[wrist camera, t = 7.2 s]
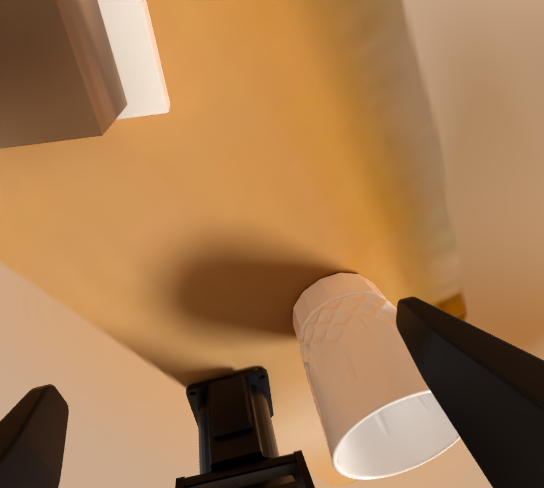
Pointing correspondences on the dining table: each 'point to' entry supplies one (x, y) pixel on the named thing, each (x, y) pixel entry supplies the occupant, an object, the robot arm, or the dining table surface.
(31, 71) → the walnut cube
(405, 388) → the white cup
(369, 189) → the dining table surface
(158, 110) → the l-shaped block
